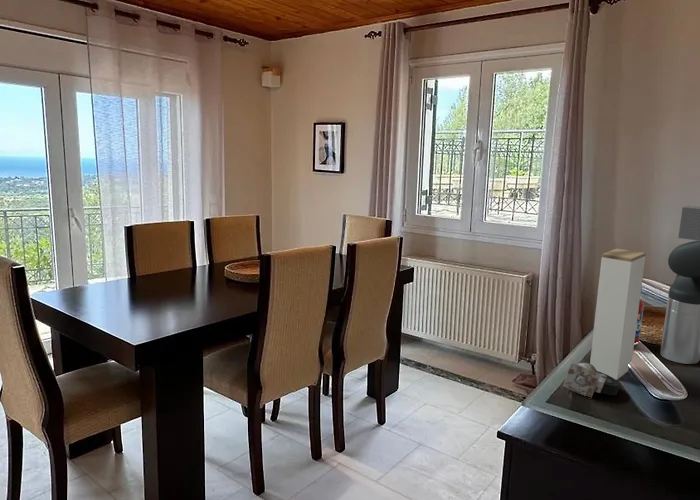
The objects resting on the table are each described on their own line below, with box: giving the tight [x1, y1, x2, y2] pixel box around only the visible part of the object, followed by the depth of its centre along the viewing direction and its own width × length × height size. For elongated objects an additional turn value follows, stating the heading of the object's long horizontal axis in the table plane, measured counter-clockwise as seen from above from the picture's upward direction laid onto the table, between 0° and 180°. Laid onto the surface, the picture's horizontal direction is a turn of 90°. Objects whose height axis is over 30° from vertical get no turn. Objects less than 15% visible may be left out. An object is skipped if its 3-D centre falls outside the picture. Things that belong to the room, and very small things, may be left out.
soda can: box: [634, 295, 645, 343], centre depth 149 cm, size 8×8×15 cm
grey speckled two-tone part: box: [562, 361, 621, 399], centre depth 123 cm, size 7×11×10 cm
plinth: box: [589, 248, 647, 381], centre depth 130 cm, size 7×10×32 cm
